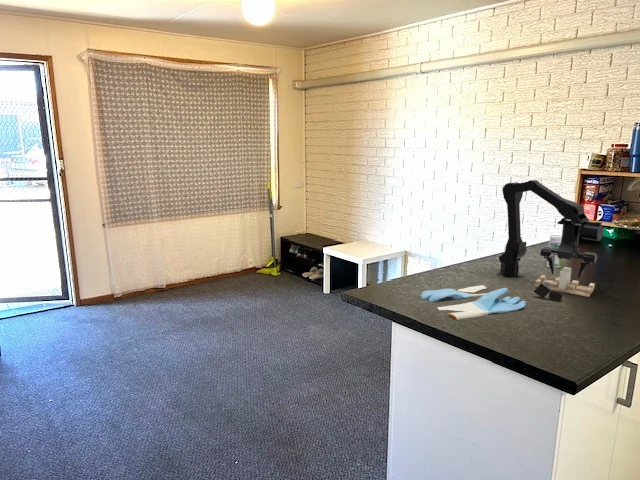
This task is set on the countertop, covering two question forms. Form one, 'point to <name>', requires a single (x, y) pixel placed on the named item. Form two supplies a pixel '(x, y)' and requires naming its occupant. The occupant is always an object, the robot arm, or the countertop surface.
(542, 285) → the black joined square panels
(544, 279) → the slotted rack
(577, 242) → the robot arm
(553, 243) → the syrup box
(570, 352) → the countertop surface
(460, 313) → the rubber gloves
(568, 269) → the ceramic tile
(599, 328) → the countertop surface
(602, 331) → the countertop surface
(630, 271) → the countertop surface
